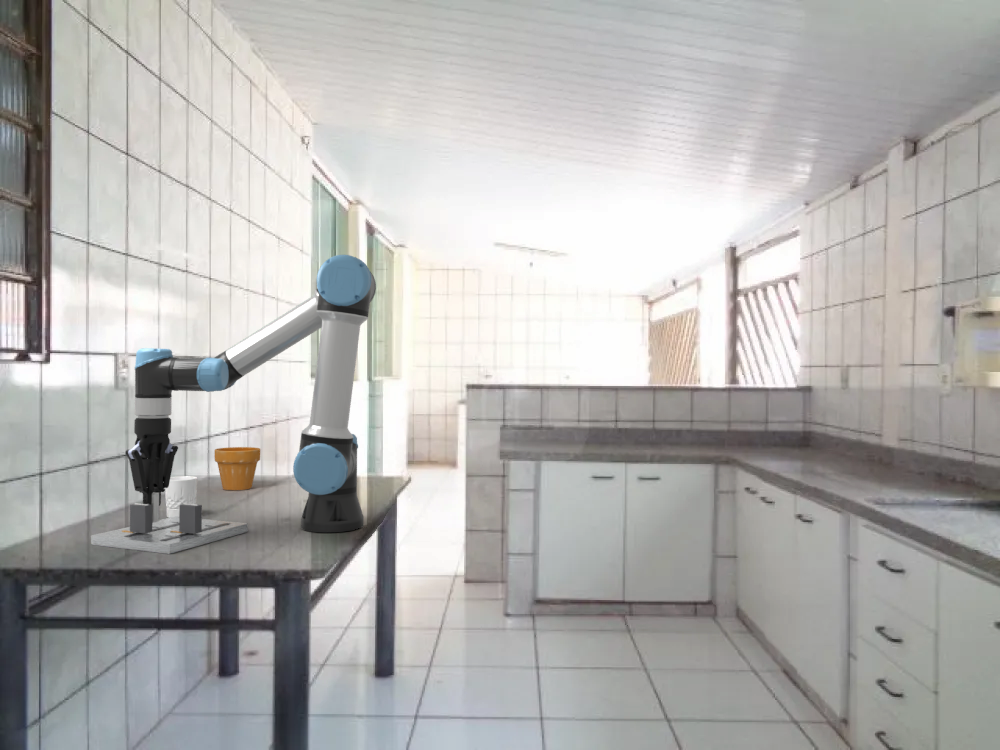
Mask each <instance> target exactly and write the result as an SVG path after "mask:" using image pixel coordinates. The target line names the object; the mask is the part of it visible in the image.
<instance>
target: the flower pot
mask: <svg viewBox="0 0 1000 750" xmlns="http://www.w3.org/2000/svg"><path fill="white" fill-rule="evenodd" d="M261 450H262V449H261V448H259V447H251V446H245V447H244V446H238V447H237V446H231V447H230V446H229V447H219V448H215V449H214V461H215V462H216V463H217V468H218V472H219V476H220V482H221V486H222V489H223V490H225V491H245V490H246V491H247V490H250V489H252V487H253V483H254V480H255V479H254V478H255V474H256V469H257V464H258V462H259V461H260V460H261Z"/></svg>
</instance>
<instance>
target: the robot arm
mask: <svg viewBox="0 0 1000 750" xmlns="http://www.w3.org/2000/svg"><path fill="white" fill-rule="evenodd" d="M375 279H376V278H375V276H374V275H373V272H371V271H370V268H369V267H368V265H367V264H366V263H365V262H364V261H363V260H361V259H360V258H357V257H356V256H352V255H350V254H337V255H333V256H331V257H330V258H327V260H325V261H324V262H323V263H322V264H321V266H320V267H319V269H318V271H317V275H316V288H315V290H314V294H313V295H312V296H310V297H309V298H308V299H306V300H304V301H302V302H301V303H300V304H298V305H296V306H295V307H293V308H292V309H290V310H288V311H286V312H285V313H284V314H282V315H280V316H278V317H277V318H276V319H274V320H272V321H271V322H269V323H268V324H266V325H264V326H263V327H261V328H260V329H257V330H256V331H255V332H253V333H251V334H250V335H248V336H245V338H243V339H242V340H240V341H238V342H236V344H234V345H232V346H230V347H229V348H227V349H226V350H225V351H223V352H221V353H219V354H218V355H216V356H215V357H175V356H174V354H173V351H172V349H170V348H152V347H151V348H147V347H145V348H139V349H138V350H137V351H136V353H135V355H136V356H135V365H134V383H135V384H134V390H135V393H134V415H135V416H136V418H135V419H134V422H133V423H134V427H133V428H134V430H133V431H134V435H136V440H135V442H134V446H133V447H132V448H131V449H126V450H125V453H124V454H125V455H126V457H127V458H128V462H129V465H130V471H131V472H130V473H131V476H132V482H133V487H134V491H135V492H139V493H141V494H142V504H150V505H153V511H152V523H154V522H159V520H160V506H161V503H162V501H161V500H162V493H165V488H168V486H169V482H170V477H172V470H173V466H174V461H175V456H176V454H177V452H178V450H179V447H178V445H173V444H172V443H171V440H170V438H169V434H171V433H172V419H171V417H169V416H171V415H172V397H173V395H172V392H173V391H174V392H175V391H176V392H177V391H182V392H187V391H188V392H206V393H209V392H212V393H213V392H222V391H225V390H227V389H230V388H231V387H233V386H234V385H235V384H236V382H237V381H238V380H240V379H241V378H243V377H244V376H247V374H249V373H250V372H252V371H254V370H256V369H257V368H259V367H261V366H262V365H263V364H265V363H266V362H268V361H270V360H272V359H273V358H276V356H278V355H279V354H281V353H283V352H284V351H286V350H288V349H289V348H291V347H293V346H294V345H296V344H297V343H299V342H300V341H302V340H304V339H306V338H307V337H309V336H311V335H312V334H314V333H315V332H316V331H318V330H320V329H321V330H320V336H319V345H318V352H317V361H316V368H315V376H314V377H315V378H314V385H313V393H312V394H313V395H312V401H311V410H310V416H309V418H310V419H309V424H308V426H306V427H305V428H304V429H303V430H301V434H300V443H299V450H298V452H297V455H296V456H295V459H294V461H293V468H292V469H293V470H292V471H293V472H292V473H293V476H294V479H295V481H296V482H297V484H298V485H299V487H300V488H301V489H302V490H303V491H305V492H306V493H307V492H308V497H307V499H306V502H305V505H304V509H303V513H302V515H301V518H300V528H301V530H304V531H307V532H311V533H342V532H344V533H345V532H350V531H355V529H356V530H359V529H361V528H363V527H364V517H365V516H364V514H363V511H362V507H361V504H360V501H359V498H358V494H357V493H358V449H359V444H358V437H357V436H356V434H354V433H351V431H350V430H349V428H348V427H349V420H350V414H351V413H350V412H351V404H352V403H351V402H352V394H353V387H354V380H355V373H356V372H355V371H356V365H357V364H356V363H357V355H358V346H359V339H360V332H361V331H360V330H361V325H362V324H364V323H365V322H366V321H367V320H368V319H369V313H370V307H371V303H372V301H373V299H374V298H375V295H376V291H377V283H376V280H375ZM360 527H361V528H360ZM358 528H359V529H358Z"/></svg>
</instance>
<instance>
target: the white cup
mask: <svg viewBox="0 0 1000 750" xmlns="http://www.w3.org/2000/svg"><path fill="white" fill-rule="evenodd" d="M164 489H165V491H164V493H165V495H164V496H165V497H164V498H165V506H166V518H171V517H175V516H177V517H179V510H180V505H182V504H196V505H197V492H198V491H197V490H198V477H197V476H191V475H188V476H187V475H182V476H181V475H180V476H171V477H170V482H169V486H168V488H164Z"/></svg>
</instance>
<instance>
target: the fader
mask: <svg viewBox="0 0 1000 750" xmlns="http://www.w3.org/2000/svg"><path fill="white" fill-rule="evenodd" d="M202 515H203V505H202V504H197V503H196V504H182V505H180V510H179V532H183V533H192V534H196V533H200V532H202V519H203V516H202Z"/></svg>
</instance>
